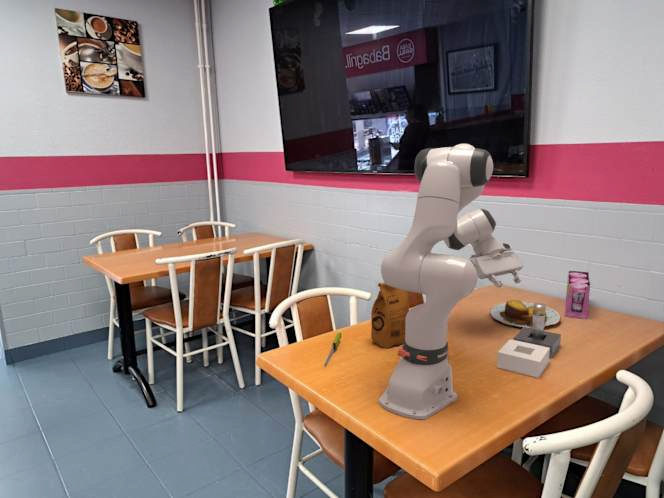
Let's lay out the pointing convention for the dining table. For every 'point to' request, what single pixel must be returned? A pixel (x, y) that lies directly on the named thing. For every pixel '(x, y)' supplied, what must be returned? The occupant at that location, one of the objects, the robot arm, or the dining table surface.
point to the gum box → (577, 294)
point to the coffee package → (389, 316)
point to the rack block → (523, 358)
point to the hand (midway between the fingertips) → (509, 284)
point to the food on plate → (521, 314)
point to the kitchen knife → (333, 347)
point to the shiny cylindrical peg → (538, 320)
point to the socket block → (548, 340)
